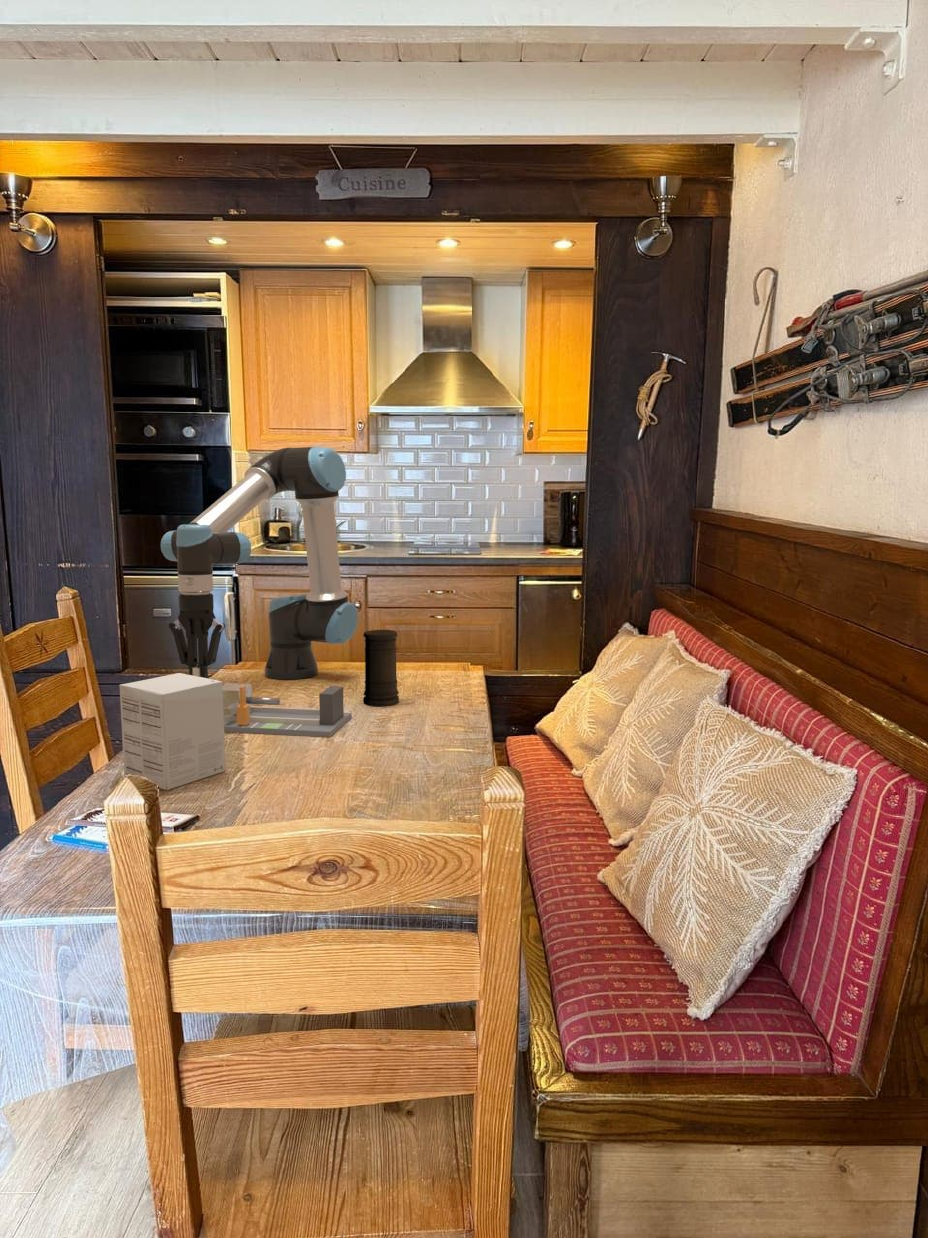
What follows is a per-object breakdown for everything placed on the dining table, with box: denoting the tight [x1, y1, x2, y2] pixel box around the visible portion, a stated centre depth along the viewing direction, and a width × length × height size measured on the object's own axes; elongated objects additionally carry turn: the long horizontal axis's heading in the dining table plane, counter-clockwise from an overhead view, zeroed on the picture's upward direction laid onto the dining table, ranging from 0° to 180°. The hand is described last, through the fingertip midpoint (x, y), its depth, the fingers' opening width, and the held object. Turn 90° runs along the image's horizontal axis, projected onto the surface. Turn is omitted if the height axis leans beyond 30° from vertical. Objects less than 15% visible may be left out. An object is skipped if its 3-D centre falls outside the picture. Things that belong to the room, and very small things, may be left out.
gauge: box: [222, 682, 281, 716], centre depth 189 cm, size 12×14×6 cm
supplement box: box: [118, 672, 227, 791], centre depth 154 cm, size 13×13×18 cm
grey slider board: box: [223, 685, 353, 738], centre depth 189 cm, size 16×32×8 cm, turn 81°
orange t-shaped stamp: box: [237, 686, 250, 725], centre depth 184 cm, size 2×2×8 cm
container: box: [362, 629, 400, 707], centre depth 209 cm, size 9×9×18 cm
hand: (199, 694), depth 193 cm, fingers closed
